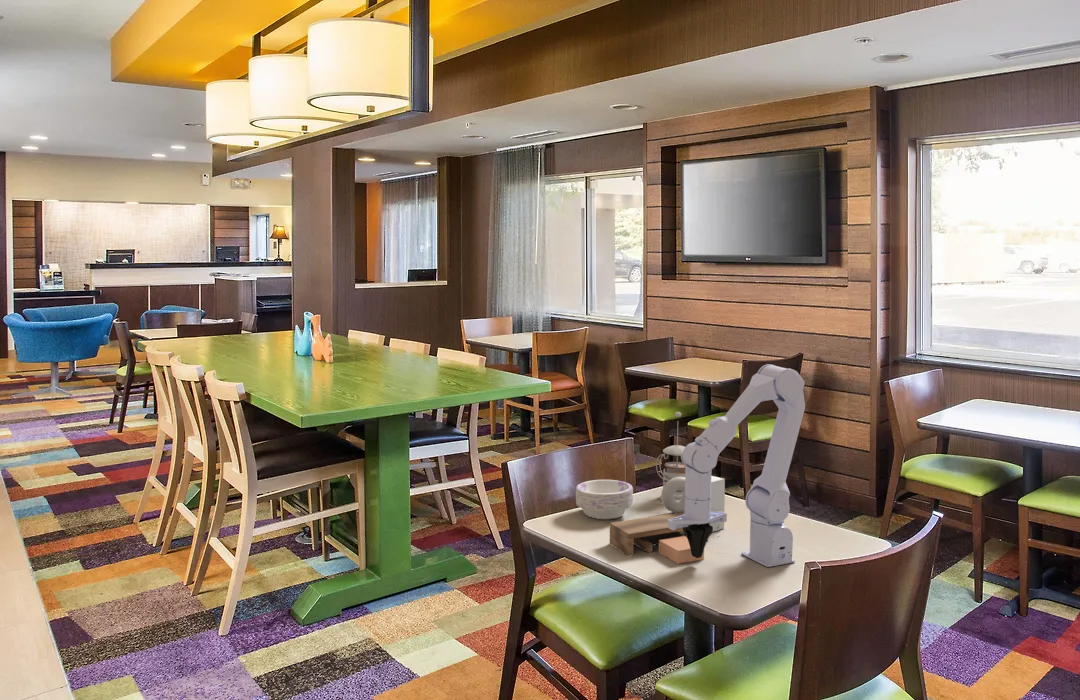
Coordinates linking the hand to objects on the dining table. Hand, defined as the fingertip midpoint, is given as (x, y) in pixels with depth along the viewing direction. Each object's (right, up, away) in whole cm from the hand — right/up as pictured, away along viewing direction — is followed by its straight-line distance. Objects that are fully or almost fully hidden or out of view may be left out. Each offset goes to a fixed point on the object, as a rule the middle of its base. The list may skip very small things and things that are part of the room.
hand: (696, 556), depth 190 cm
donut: (+2, +2, +39) cm, 39 cm away
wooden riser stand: (-7, 0, +14) cm, 16 cm away
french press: (+3, +4, +53) cm, 53 cm away
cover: (-3, -1, +6) cm, 6 cm away
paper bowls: (-18, +2, +37) cm, 41 cm away
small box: (+7, +1, +26) cm, 27 cm away
